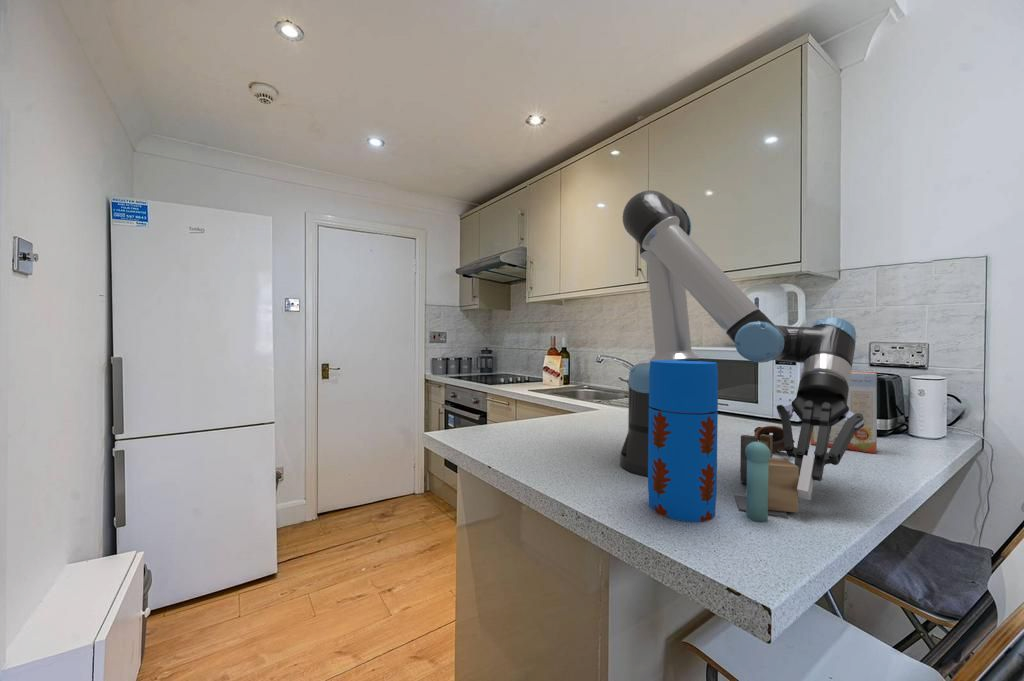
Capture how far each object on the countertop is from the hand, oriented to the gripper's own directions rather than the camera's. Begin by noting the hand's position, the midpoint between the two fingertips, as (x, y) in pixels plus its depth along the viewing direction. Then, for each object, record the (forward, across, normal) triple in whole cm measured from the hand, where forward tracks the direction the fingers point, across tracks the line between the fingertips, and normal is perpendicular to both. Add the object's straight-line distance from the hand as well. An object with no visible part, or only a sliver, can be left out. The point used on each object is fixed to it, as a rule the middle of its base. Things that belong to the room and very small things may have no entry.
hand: (803, 494), depth 67 cm
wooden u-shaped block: (-2, +7, -6) cm, 10 cm away
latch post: (+7, +5, +1) cm, 8 cm away
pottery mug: (-25, +14, -32) cm, 43 cm away
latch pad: (+3, +6, -3) cm, 7 cm away
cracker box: (-41, +3, -48) cm, 63 cm away
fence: (-10, +11, -16) cm, 22 cm away
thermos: (+11, +15, +5) cm, 19 cm away
